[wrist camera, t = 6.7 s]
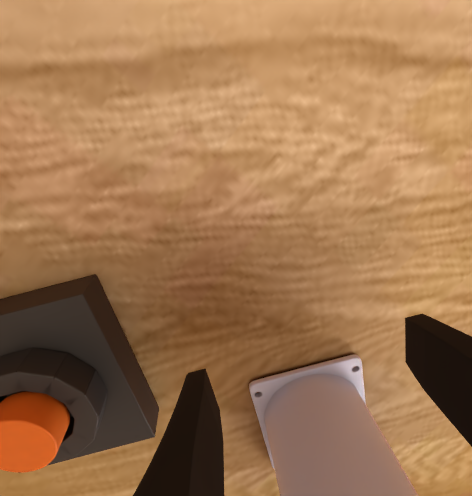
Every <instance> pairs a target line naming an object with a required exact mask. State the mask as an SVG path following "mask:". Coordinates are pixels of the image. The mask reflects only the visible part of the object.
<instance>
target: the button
mask: <svg viewBox="0 0 472 496" xmlns="http://www.w3.org/2000/svg"><path fill="white" fill-rule="evenodd" d="M69 424H70V414H69V411H68V409H67V407H66V406H65V405H64V404H63V403H62V402H60V401H58V400H57V399H55V398H53V397H51V396H49V395H47V394H44V393H36V392H28V391H25V392H19V393H15V394H12V395H10V396H8V397H7V398H5V399H4V400H2V401H1V402H0V469H1V470H5V471H10V472H30V471H34V470H38V469H40V468H43V467H45V466H46V465H48V464H49V463H50V462H51V461H52V460H53V459H54V458H55V456H56V454H57V452H58V450H59V447H60V445H61V443H62V440H63V438H64V436H65V433H66V431H67V429H68V426H69Z"/></svg>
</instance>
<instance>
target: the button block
mask: <svg viewBox="0 0 472 496" xmlns="http://www.w3.org/2000/svg"><path fill="white" fill-rule="evenodd" d="M25 391H28V392H36V393H44V394H47V395H49V396H51V397H53V398H55V399H57V400H58V401H60V402H62V403H63V404H64V405H65V406H66V407H67V409H68V411H69V414H70V424H69V426H68V429H67V431H66V433H65V436H64V438H63V440H62V443H61V445H60V447H59V450H58V452H57V454H56V456H55V458H54V459H53V460H52V461H51V462H50V463H49V464H48V465H50V464H54V463H58V462H62V461H65V460H69V459H73V458H77V457H81V456H84V455H88V454H92V453H96V452H100V451H103V450H107V449H111V448H115V447H118V446H122V445H126V444H130V443H134V442H137V441H141V440H145V439H149V438H153V437H155V432H156V425H157V418H158V411H159V407H158V405H157V403H156V401H155V399H154V397H153V394H152V392H151V390H150V388H149V386H148V384H147V382H146V380H145V377H144V375H143V373H142V371H141V369H140V367H139V365H138V363H137V361H136V358H135V356H134V354H133V352H132V350H131V348H130V346H129V344H128V341H127V339H126V337H125V335H124V333H123V331H122V329H121V327H120V325H119V322H118V320H117V318H116V316H115V314H114V312H113V310H112V308H111V305H110V303H109V301H108V299H107V297H106V295H105V293H104V291H103V289H102V286H101V284H100V282H99V280H98V278H97V276H96V275H92V276H88V277H84V278H81V279H77V280H73V281H69V282H65V283H61V284H58V285H54V286H50V287H46V288H42V289H38V290H34V291H31V292H27V293H23V294H19V295H15V296H11V297H8V298H4V299H0V402H1V401H2V400H4V399H5V398H7V397H8V396H10V395H12V394H15V393H19V392H25ZM18 473H20V472H18Z"/></svg>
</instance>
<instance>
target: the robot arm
mask: <svg viewBox="0 0 472 496" xmlns="http://www.w3.org/2000/svg"><path fill="white" fill-rule="evenodd" d="M405 334H406V363H407V365H408V367H409V368H410V370H411V371H412V373H413V374H414V376H415V377H416V379H417V380H418V382H419V383H420V385H421V386H422V388H423V389H424V390H425V392H426V393H427V394H428V395H429V396H430V398H431V399H432V400H433V401H434V402H435V404H436V405H437V406H438V407H439V408H440V410H441V411H442V412H443V413H444V414H445V416H446V417H447V418H448V419H449V420H450V422H451V423H452V424H453V425H454V426H455V427H456V429H457V430H458V431H459V432H460V433H461V434H462V436H463V437H464V438H465V439H466V440H467V442H468V443H469V444H470V445H471V446H472V337H471V336H469V335H467V334H465V333H463V332H461V331H459V330H456V329H454V328H452V327H450V326H448V325H446V324H444V323H442V322H440V321H437V320H435V319H433V318H431V317H429V316H426V315H424V314H419V315H415V316H411V317H407V318H405ZM353 367H354V368H353ZM249 390H250V393H251V397H252V400H253V404H254V407H255V410H256V414H257V417H258V420H259V424H260V427H261V430H262V434H263V437H264V441H265V444H266V447H267V451H268V454H269V457H270V461H271V464H272V467H273V468H274V469H275V473H276V477H277V482H278V487H279V491H280V496H418V494H417V492H416V491H415V489H414V487H413V485H412V484H411V482H410V480H409V478H408V477H407V475H406V473H405V472H404V470H403V468H402V466H401V465H400V463H399V461H398V459H397V458H396V456H395V454H394V453H393V451H392V449H391V447H390V446H389V444H388V442H387V441H386V439H385V437H384V435H383V434H382V432H381V430H380V428H379V427H378V425H377V423H376V422H375V420H374V418H373V416H372V415H371V413H370V411H369V409H368V408H367V406H366V402H365V391H364V381H363V370H362V361H361V359H360V357H359V356H358V355H355V354H354V355H349V356H345V357H341V358H337V359H334V360H330V361H326V362H322V363H318V364H315V365H311V366H307V367H303V368H299V369H296V370H292V371H288V372H284V373H280V374H277V375H273V376H269V377H265V378H261V379H258V380H254V381H252V382H251V383H250V384H249ZM256 392H259V393H256ZM133 496H224V457H223V434H222V425H221V417H220V409H219V406H218V404H217V401H216V398H215V395H214V392H213V389H212V386H211V383H210V380H209V377H208V375H207V372H206V369H202V370H198V371H194V372H190V373H188V374H187V376H186V378H185V382H184V385H183V387H182V390H181V393H180V396H179V399H178V401H177V404H176V407H175V409H174V412H173V414H172V417H171V419H170V421H169V424H168V426H167V429H166V431H165V433H164V436H163V438H162V440H161V442H160V444H159V446H158V448H157V450H156V453H155V455H154V457H153V459H152V461H151V463H150V465H149V467H148V469H147V471H146V473H145V475H144V477H143V479H142V480H141V482H140V484H139V486H138V488H137V489H136V491H135V493H134V495H133Z"/></svg>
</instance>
